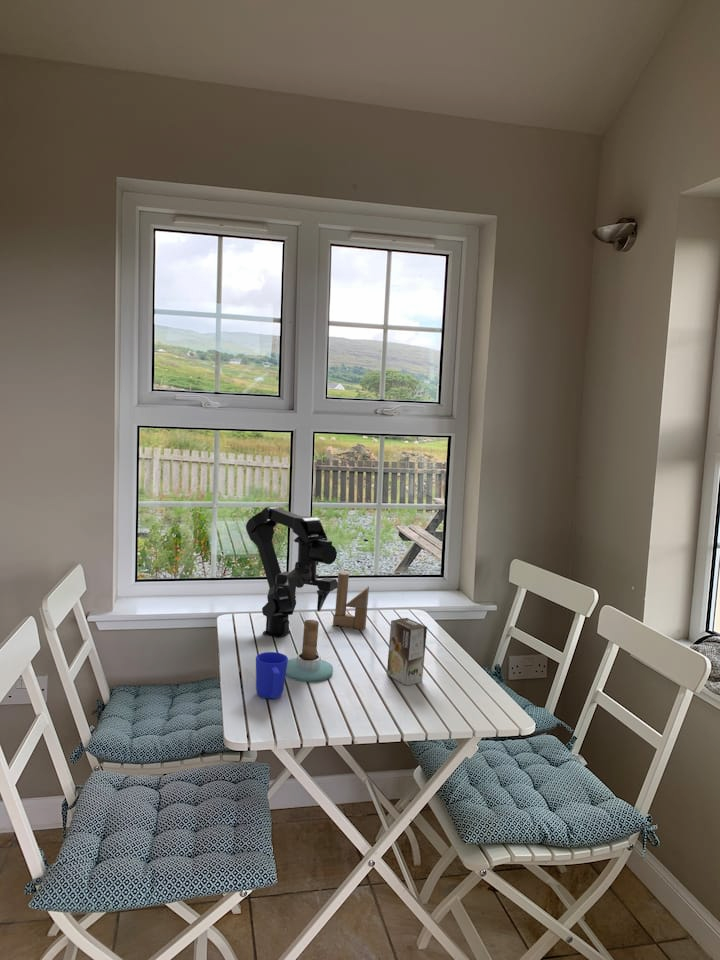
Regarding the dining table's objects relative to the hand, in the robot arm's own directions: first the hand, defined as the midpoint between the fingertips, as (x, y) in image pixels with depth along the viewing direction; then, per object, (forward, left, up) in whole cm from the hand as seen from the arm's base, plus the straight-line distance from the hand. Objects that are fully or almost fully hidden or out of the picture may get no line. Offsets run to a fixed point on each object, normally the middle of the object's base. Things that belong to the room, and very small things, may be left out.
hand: (305, 609), depth 228 cm
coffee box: (+35, -3, -12) cm, 38 cm away
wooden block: (+2, +27, -12) cm, 29 cm away
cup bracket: (+11, -16, -12) cm, 23 cm away
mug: (+13, -37, -12) cm, 41 cm away
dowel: (+11, -16, -10) cm, 22 cm away
